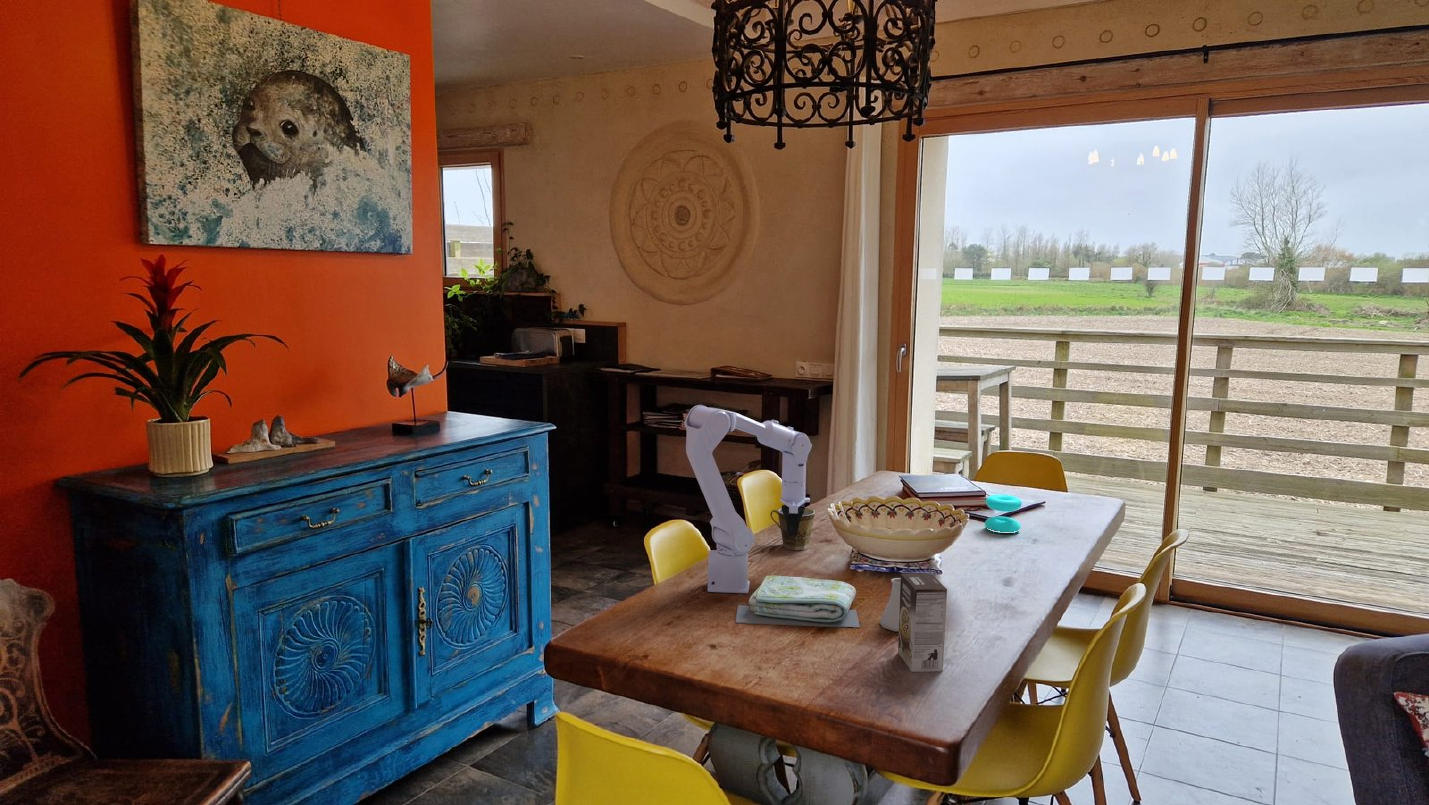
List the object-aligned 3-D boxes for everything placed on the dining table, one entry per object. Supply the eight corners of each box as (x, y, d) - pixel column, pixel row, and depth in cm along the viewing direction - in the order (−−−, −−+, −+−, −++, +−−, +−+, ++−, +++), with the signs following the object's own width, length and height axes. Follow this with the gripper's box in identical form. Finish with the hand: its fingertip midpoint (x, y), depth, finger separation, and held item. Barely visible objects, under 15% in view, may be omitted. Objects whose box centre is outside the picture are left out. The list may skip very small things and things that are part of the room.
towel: (765, 590, 211) (765, 569, 210) (856, 599, 205) (857, 577, 205) (747, 616, 193) (747, 593, 193) (846, 627, 188) (847, 603, 187)
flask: (894, 635, 185) (896, 587, 184) (873, 623, 191) (874, 577, 190) (922, 629, 188) (924, 583, 187) (900, 618, 195) (902, 573, 193)
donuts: (981, 493, 269) (1015, 493, 268) (980, 525, 270) (1013, 526, 270) (991, 501, 259) (1026, 501, 259) (990, 535, 260) (1024, 535, 260)
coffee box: (896, 652, 176) (899, 572, 174) (928, 652, 177) (932, 572, 175) (910, 672, 167) (913, 588, 165) (944, 671, 168) (948, 588, 166)
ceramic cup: (820, 545, 248) (821, 509, 246) (803, 554, 239) (804, 517, 238) (778, 538, 254) (779, 503, 253) (761, 546, 246) (761, 510, 245)
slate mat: (735, 623, 190) (735, 622, 190) (737, 606, 200) (737, 605, 200) (859, 628, 188) (859, 627, 188) (856, 610, 198) (856, 610, 198)
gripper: (811, 487, 210) (809, 544, 212) (809, 474, 225) (808, 527, 227) (780, 486, 211) (779, 543, 213) (781, 473, 225) (780, 526, 227)
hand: (792, 535), depth 220 cm, fingers closed
